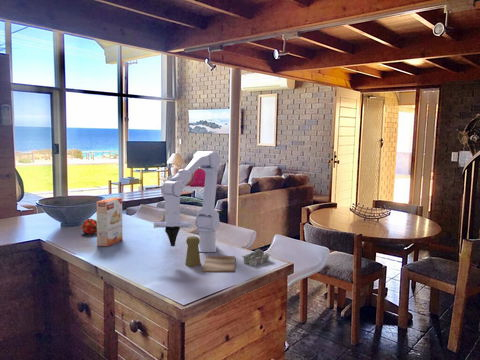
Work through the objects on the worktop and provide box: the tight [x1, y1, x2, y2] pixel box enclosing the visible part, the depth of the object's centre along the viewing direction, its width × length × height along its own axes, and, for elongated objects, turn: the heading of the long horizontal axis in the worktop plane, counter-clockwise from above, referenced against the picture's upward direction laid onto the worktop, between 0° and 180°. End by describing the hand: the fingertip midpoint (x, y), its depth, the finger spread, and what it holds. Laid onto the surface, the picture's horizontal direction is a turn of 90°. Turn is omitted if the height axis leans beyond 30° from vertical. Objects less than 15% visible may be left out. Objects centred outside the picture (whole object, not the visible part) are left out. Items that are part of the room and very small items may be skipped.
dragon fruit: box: [81, 218, 97, 236], centre depth 201 cm, size 8×8×12 cm
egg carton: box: [241, 248, 270, 266], centre depth 157 cm, size 11×8×4 cm
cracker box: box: [95, 197, 123, 247], centre depth 183 cm, size 14×6×21 cm, turn 168°
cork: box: [184, 235, 202, 268], centre depth 152 cm, size 6×6×11 cm
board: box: [201, 255, 236, 273], centre depth 153 cm, size 18×12×1 cm, turn 0°
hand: (172, 245), depth 152 cm, fingers closed
